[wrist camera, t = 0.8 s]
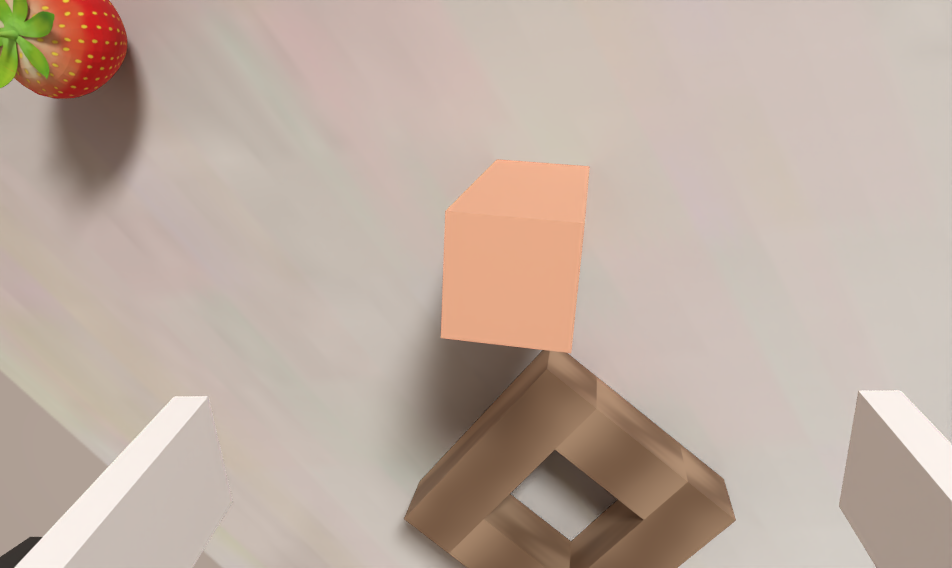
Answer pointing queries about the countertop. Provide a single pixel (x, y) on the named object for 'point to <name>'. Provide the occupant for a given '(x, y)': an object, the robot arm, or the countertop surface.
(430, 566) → the countertop surface
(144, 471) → the robot arm
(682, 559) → the socket
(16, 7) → the fruit
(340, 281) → the countertop surface
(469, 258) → the peg
